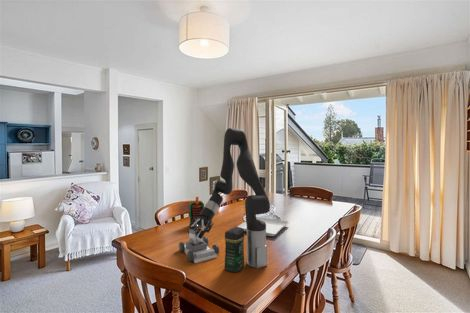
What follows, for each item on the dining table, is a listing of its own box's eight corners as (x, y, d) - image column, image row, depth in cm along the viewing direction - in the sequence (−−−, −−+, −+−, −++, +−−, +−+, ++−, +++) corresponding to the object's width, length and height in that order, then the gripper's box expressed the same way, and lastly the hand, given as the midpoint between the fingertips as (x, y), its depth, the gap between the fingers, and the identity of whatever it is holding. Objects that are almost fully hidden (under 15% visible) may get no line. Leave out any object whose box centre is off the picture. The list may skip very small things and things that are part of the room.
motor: (190, 228, 173) (190, 199, 172) (189, 224, 182) (188, 196, 181) (205, 226, 176) (204, 198, 175) (203, 222, 185) (203, 195, 183)
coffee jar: (237, 274, 112) (236, 233, 111) (222, 270, 116) (221, 230, 115) (247, 265, 120) (246, 226, 119) (232, 261, 124) (232, 224, 123)
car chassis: (220, 256, 130) (220, 246, 129) (191, 264, 122) (191, 254, 121) (203, 243, 147) (203, 234, 146) (178, 249, 139) (178, 240, 138)
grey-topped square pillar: (202, 247, 137) (202, 229, 137) (195, 250, 133) (195, 232, 133) (196, 245, 140) (196, 227, 140) (189, 248, 137) (189, 229, 136)
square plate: (254, 220, 189) (254, 215, 189) (289, 226, 175) (289, 221, 175) (235, 232, 166) (235, 226, 166) (275, 239, 152) (275, 233, 152)
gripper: (197, 204, 146) (181, 229, 138) (214, 208, 136) (198, 235, 128) (204, 211, 150) (189, 236, 142) (221, 216, 141) (206, 242, 133)
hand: (194, 236), depth 135 cm, fingers open, 8 cm apart
